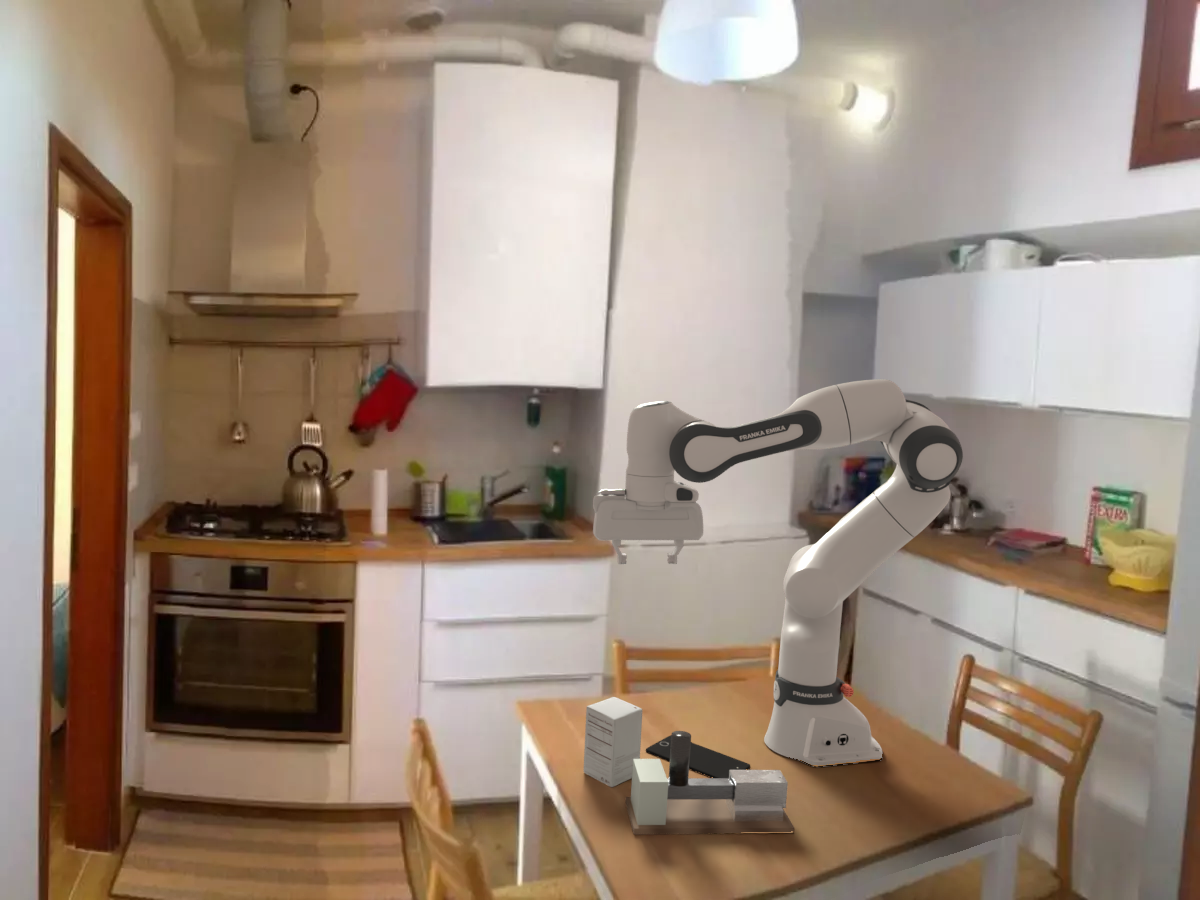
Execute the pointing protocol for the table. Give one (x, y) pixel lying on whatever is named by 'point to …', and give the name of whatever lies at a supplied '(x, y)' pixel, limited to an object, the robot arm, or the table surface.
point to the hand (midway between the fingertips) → (647, 563)
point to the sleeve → (758, 795)
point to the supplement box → (612, 740)
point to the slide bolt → (692, 787)
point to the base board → (704, 819)
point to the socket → (649, 792)
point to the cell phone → (701, 759)
